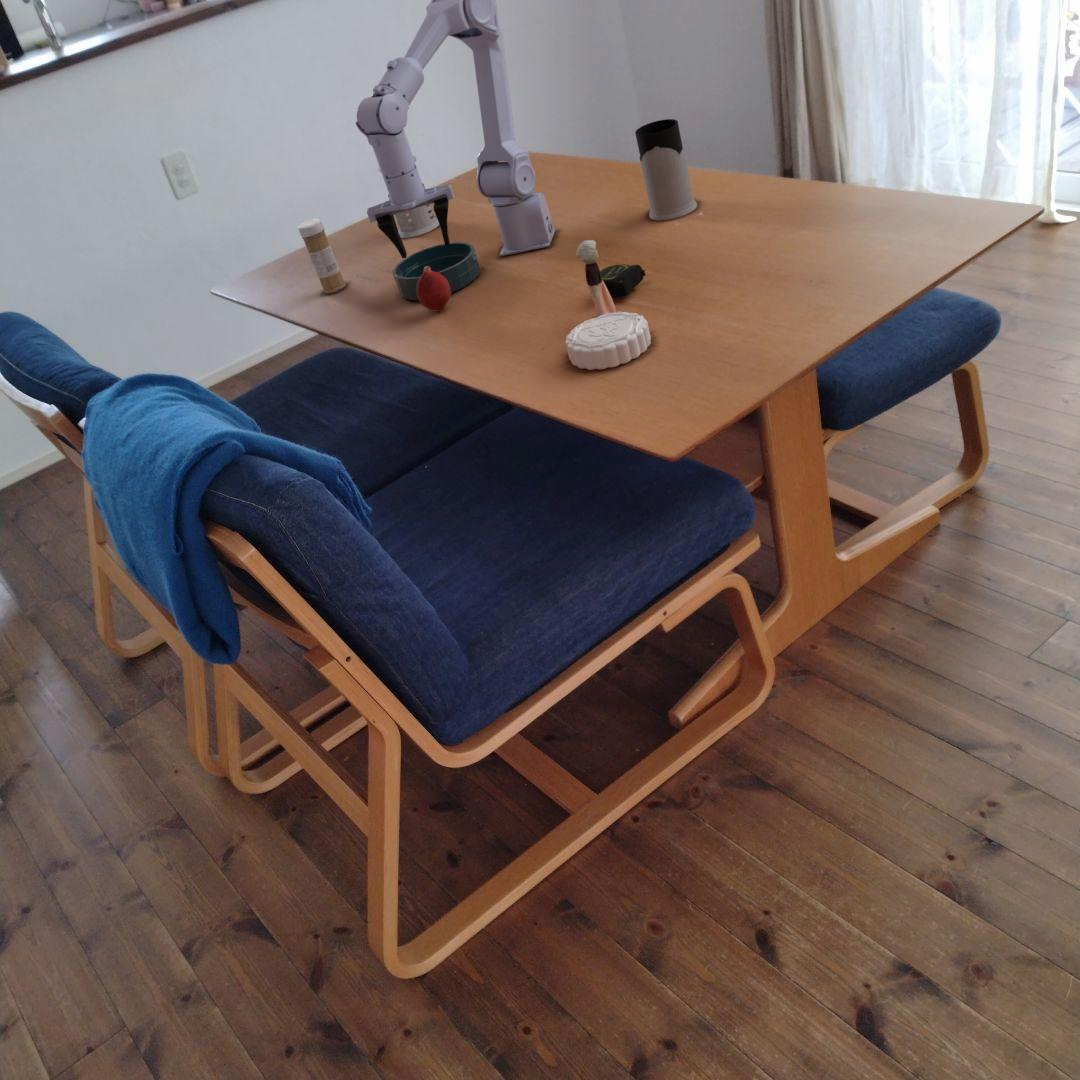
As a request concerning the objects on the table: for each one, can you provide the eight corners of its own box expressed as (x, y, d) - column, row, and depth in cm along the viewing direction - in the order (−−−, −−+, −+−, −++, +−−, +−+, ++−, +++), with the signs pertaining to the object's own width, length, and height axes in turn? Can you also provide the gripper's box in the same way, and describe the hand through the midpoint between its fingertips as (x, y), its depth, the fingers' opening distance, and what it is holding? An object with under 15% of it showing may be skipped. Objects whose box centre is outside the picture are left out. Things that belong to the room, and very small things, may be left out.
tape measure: (627, 303, 170) (622, 281, 168) (590, 303, 174) (584, 281, 172) (648, 283, 174) (643, 261, 172) (611, 283, 178) (606, 262, 176)
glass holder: (646, 223, 197) (628, 140, 189) (656, 195, 208) (639, 115, 200) (694, 214, 194) (678, 129, 186) (702, 186, 205) (687, 105, 197)
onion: (451, 315, 186) (436, 271, 181) (420, 321, 187) (404, 277, 183) (460, 300, 190) (445, 257, 186) (429, 306, 192) (414, 263, 187)
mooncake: (573, 378, 154) (566, 356, 152) (567, 344, 164) (561, 322, 162) (656, 356, 153) (651, 333, 151) (646, 323, 163) (640, 300, 161)
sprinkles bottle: (342, 281, 215) (317, 216, 208) (349, 287, 212) (323, 220, 204) (320, 291, 214) (294, 225, 207) (327, 296, 210) (300, 229, 203)
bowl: (488, 258, 204) (481, 235, 201) (471, 292, 192) (463, 268, 189) (412, 274, 208) (404, 251, 206) (391, 308, 196) (383, 285, 193)
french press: (407, 241, 225) (365, 118, 212) (385, 232, 235) (344, 113, 221) (448, 222, 228) (409, 100, 215) (425, 214, 237) (387, 96, 224)
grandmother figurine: (624, 324, 164) (604, 243, 157) (599, 332, 164) (579, 252, 157) (610, 307, 171) (591, 229, 164) (587, 315, 171) (567, 237, 164)
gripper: (355, 191, 177) (384, 269, 185) (441, 165, 176) (467, 245, 183) (358, 179, 183) (386, 255, 191) (442, 154, 182) (466, 232, 189)
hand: (426, 250), depth 187 cm, fingers open, 7 cm apart
